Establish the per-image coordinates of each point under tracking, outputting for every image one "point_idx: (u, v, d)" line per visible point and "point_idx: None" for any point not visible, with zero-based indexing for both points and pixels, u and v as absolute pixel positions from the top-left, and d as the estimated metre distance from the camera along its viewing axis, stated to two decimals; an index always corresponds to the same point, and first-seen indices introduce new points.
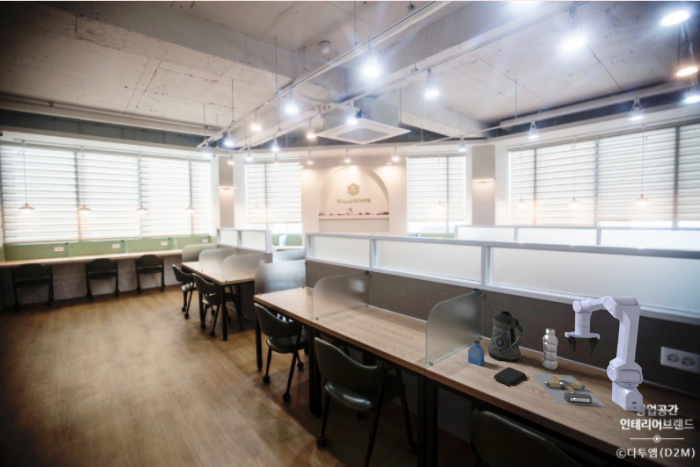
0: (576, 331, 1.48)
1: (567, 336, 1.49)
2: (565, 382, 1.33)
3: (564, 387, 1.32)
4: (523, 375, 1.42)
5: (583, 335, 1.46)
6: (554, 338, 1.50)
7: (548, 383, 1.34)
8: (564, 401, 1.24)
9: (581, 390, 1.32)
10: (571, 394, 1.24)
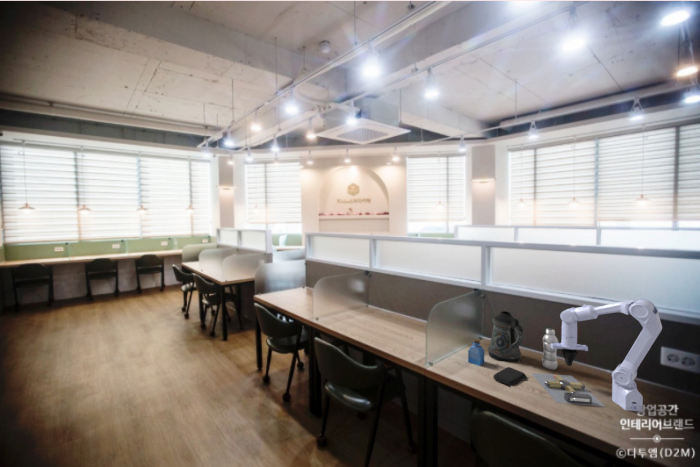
0: (562, 342, 1.37)
1: (553, 348, 1.37)
2: (565, 382, 1.33)
3: (564, 387, 1.32)
4: (523, 375, 1.42)
5: (570, 347, 1.34)
6: (554, 338, 1.50)
7: (548, 383, 1.34)
8: (564, 401, 1.24)
9: (581, 390, 1.32)
10: (571, 394, 1.24)
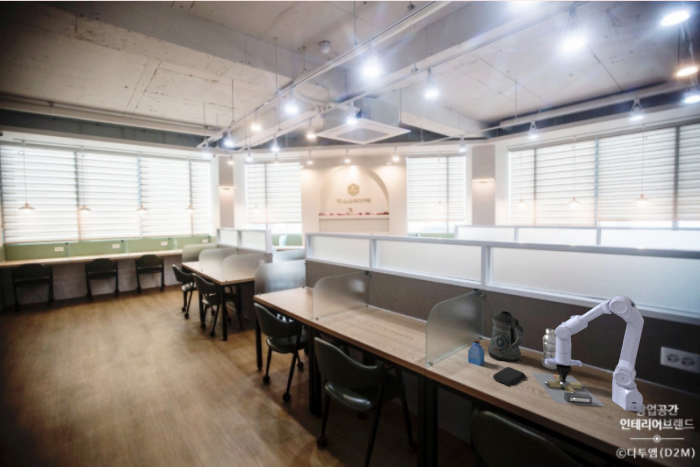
0: (556, 358, 1.38)
1: (547, 363, 1.38)
2: (565, 382, 1.33)
3: (564, 387, 1.32)
4: (522, 375, 1.42)
5: (564, 363, 1.35)
6: (554, 338, 1.50)
7: (548, 383, 1.34)
8: (564, 401, 1.24)
9: (581, 390, 1.32)
10: (571, 394, 1.24)
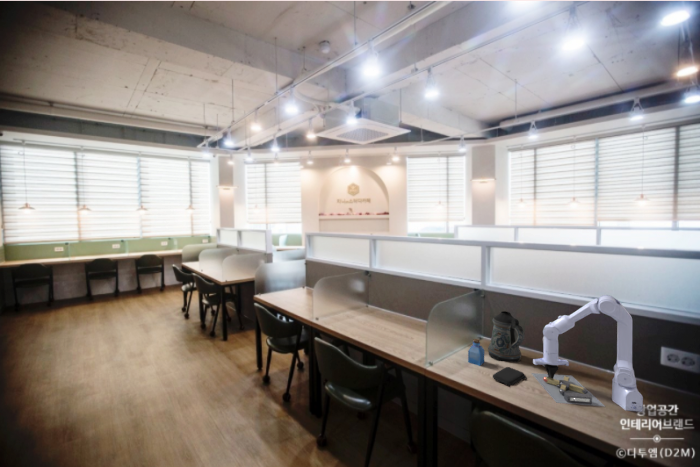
0: (544, 358, 1.38)
1: (535, 364, 1.38)
2: (564, 382, 1.34)
3: (569, 387, 1.32)
4: (522, 375, 1.42)
5: (552, 363, 1.36)
6: None
7: (564, 391, 1.28)
8: (564, 401, 1.24)
9: None
10: (571, 394, 1.24)
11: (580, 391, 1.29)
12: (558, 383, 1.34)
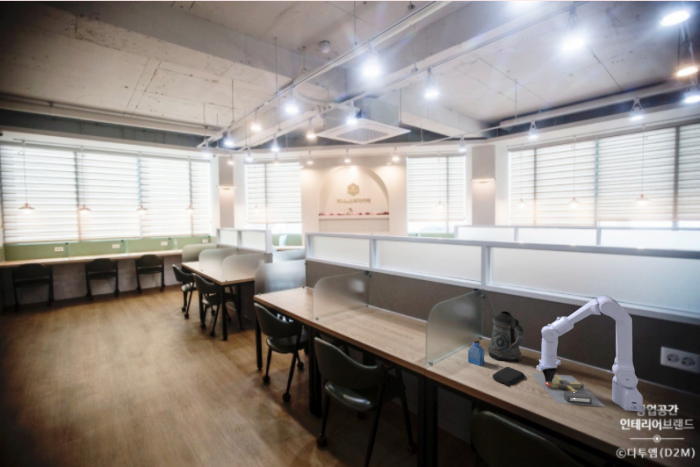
0: (546, 362, 1.34)
1: (541, 370, 1.32)
2: (564, 382, 1.34)
3: None
4: (521, 374, 1.43)
5: (553, 365, 1.33)
6: None
7: None
8: (564, 401, 1.24)
9: (581, 390, 1.32)
10: (571, 394, 1.24)
11: (579, 387, 1.32)
12: (560, 385, 1.33)
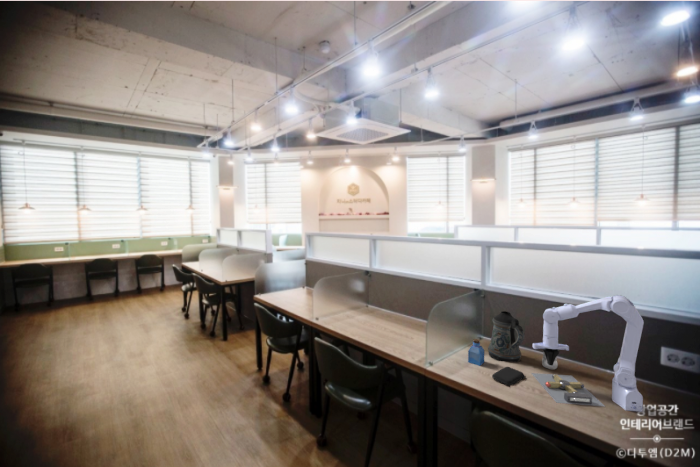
0: (544, 342, 1.38)
1: (534, 348, 1.38)
2: (564, 382, 1.34)
3: None
4: (521, 374, 1.43)
5: (551, 347, 1.35)
6: None
7: None
8: (564, 401, 1.24)
9: (581, 390, 1.32)
10: (571, 394, 1.24)
11: (579, 387, 1.32)
12: (560, 385, 1.33)
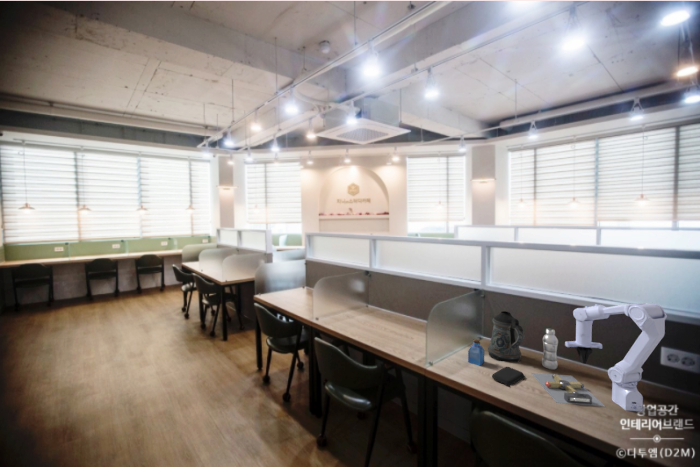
0: (577, 340, 1.39)
1: (567, 346, 1.39)
2: (564, 382, 1.34)
3: None
4: (521, 374, 1.43)
5: (585, 345, 1.36)
6: (554, 338, 1.50)
7: None
8: (564, 401, 1.24)
9: (581, 390, 1.32)
10: (571, 394, 1.24)
11: (579, 387, 1.32)
12: (560, 385, 1.33)
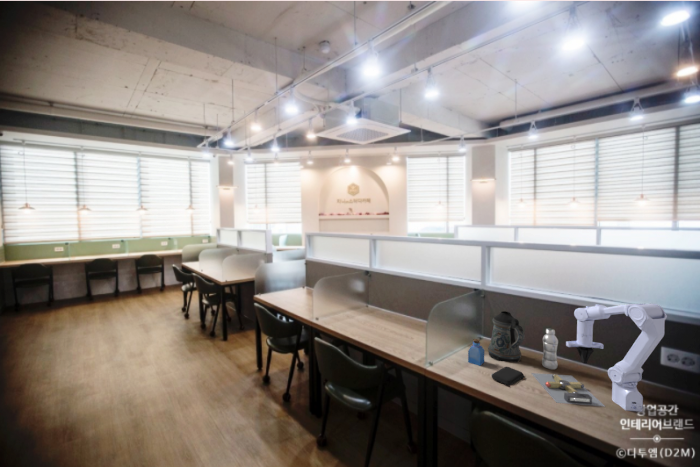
0: (578, 340, 1.39)
1: (568, 346, 1.39)
2: (564, 382, 1.34)
3: None
4: (520, 374, 1.43)
5: (585, 345, 1.36)
6: (554, 338, 1.50)
7: None
8: (564, 401, 1.24)
9: (581, 390, 1.32)
10: (571, 394, 1.24)
11: (579, 387, 1.32)
12: (560, 385, 1.33)
